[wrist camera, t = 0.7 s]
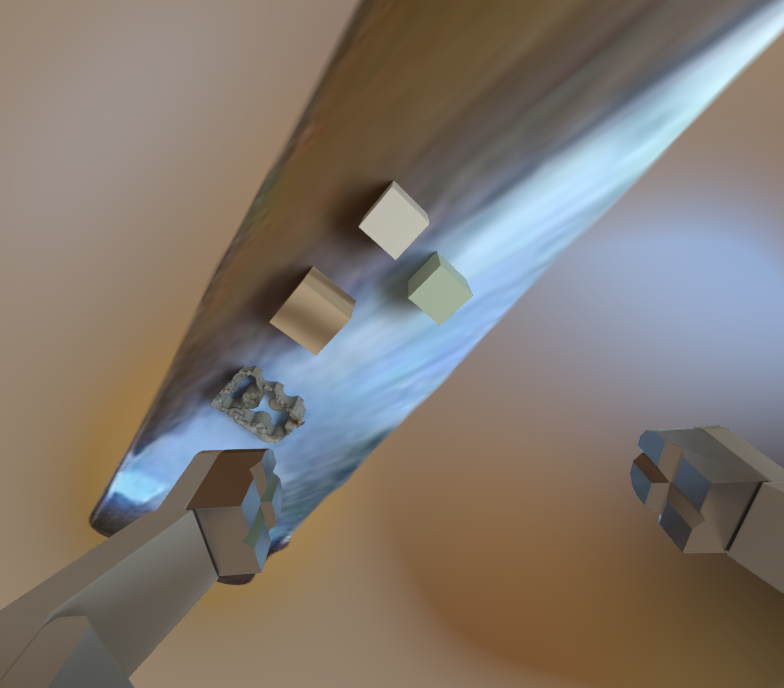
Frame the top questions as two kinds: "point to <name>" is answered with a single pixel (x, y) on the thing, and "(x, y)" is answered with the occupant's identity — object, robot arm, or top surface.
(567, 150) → the top surface
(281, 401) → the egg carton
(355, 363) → the top surface
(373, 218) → the cream cube
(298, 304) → the oak block
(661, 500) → the robot arm
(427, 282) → the green cube
